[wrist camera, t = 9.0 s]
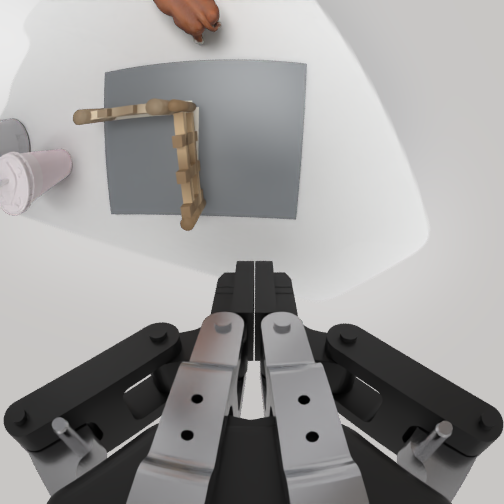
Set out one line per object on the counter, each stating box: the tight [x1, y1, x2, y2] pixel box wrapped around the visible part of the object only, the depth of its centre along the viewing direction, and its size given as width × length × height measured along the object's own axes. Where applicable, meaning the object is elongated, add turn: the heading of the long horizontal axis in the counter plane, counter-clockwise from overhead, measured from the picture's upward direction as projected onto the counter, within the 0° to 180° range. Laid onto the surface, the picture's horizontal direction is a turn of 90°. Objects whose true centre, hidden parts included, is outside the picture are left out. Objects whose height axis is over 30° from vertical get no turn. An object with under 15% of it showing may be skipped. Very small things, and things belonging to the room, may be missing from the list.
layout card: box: [104, 60, 307, 219], centre depth 27 cm, size 21×16×1 cm
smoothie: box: [0, 149, 72, 216], centre depth 22 cm, size 6×6×14 cm
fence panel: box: [168, 99, 206, 231], centre depth 25 cm, size 11×1×6 cm, turn 3°
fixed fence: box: [73, 98, 179, 125], centre depth 23 cm, size 9×1×7 cm, turn 88°
